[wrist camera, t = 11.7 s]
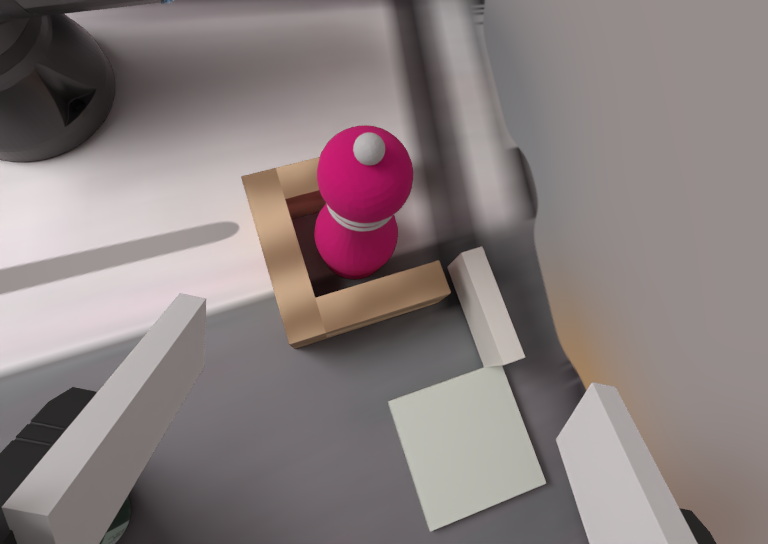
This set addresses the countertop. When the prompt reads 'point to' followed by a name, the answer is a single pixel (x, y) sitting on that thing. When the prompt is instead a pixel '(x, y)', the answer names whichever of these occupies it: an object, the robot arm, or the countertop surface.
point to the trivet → (465, 445)
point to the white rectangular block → (484, 309)
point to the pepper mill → (361, 199)
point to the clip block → (289, 274)
